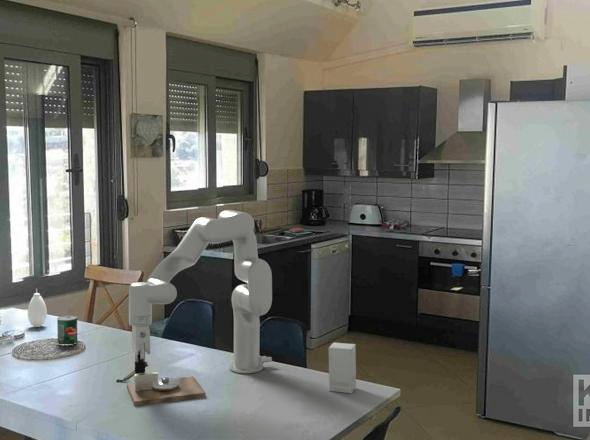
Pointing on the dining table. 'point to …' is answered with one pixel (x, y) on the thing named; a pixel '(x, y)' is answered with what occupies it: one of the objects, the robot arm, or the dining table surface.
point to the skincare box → (342, 367)
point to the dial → (154, 382)
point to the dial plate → (167, 392)
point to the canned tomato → (67, 329)
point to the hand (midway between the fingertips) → (139, 372)
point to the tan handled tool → (128, 376)
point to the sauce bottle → (37, 310)
